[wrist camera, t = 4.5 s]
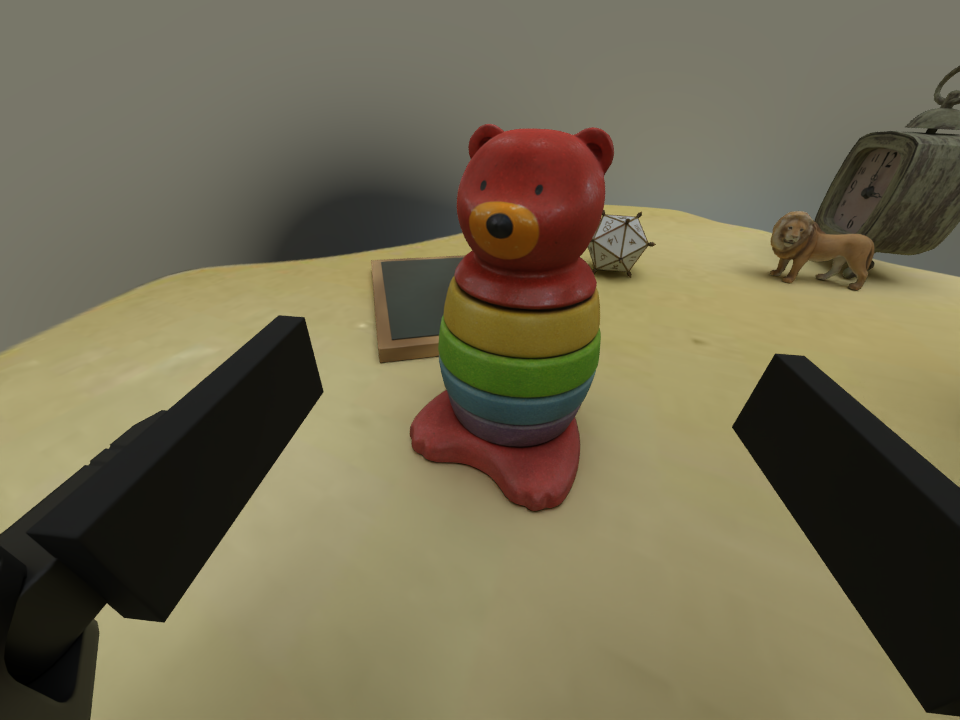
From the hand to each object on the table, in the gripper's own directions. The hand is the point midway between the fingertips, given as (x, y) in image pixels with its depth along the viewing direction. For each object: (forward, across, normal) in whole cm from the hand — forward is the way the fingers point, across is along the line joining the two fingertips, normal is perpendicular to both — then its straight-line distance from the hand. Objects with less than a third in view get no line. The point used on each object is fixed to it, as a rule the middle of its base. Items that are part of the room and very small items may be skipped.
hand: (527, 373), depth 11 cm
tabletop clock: (+51, +52, -12) cm, 74 cm away
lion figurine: (+44, +41, -12) cm, 61 cm away
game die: (+42, +14, -12) cm, 46 cm away
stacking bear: (+10, 0, -12) cm, 15 cm away
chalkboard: (+30, -5, -12) cm, 33 cm away
